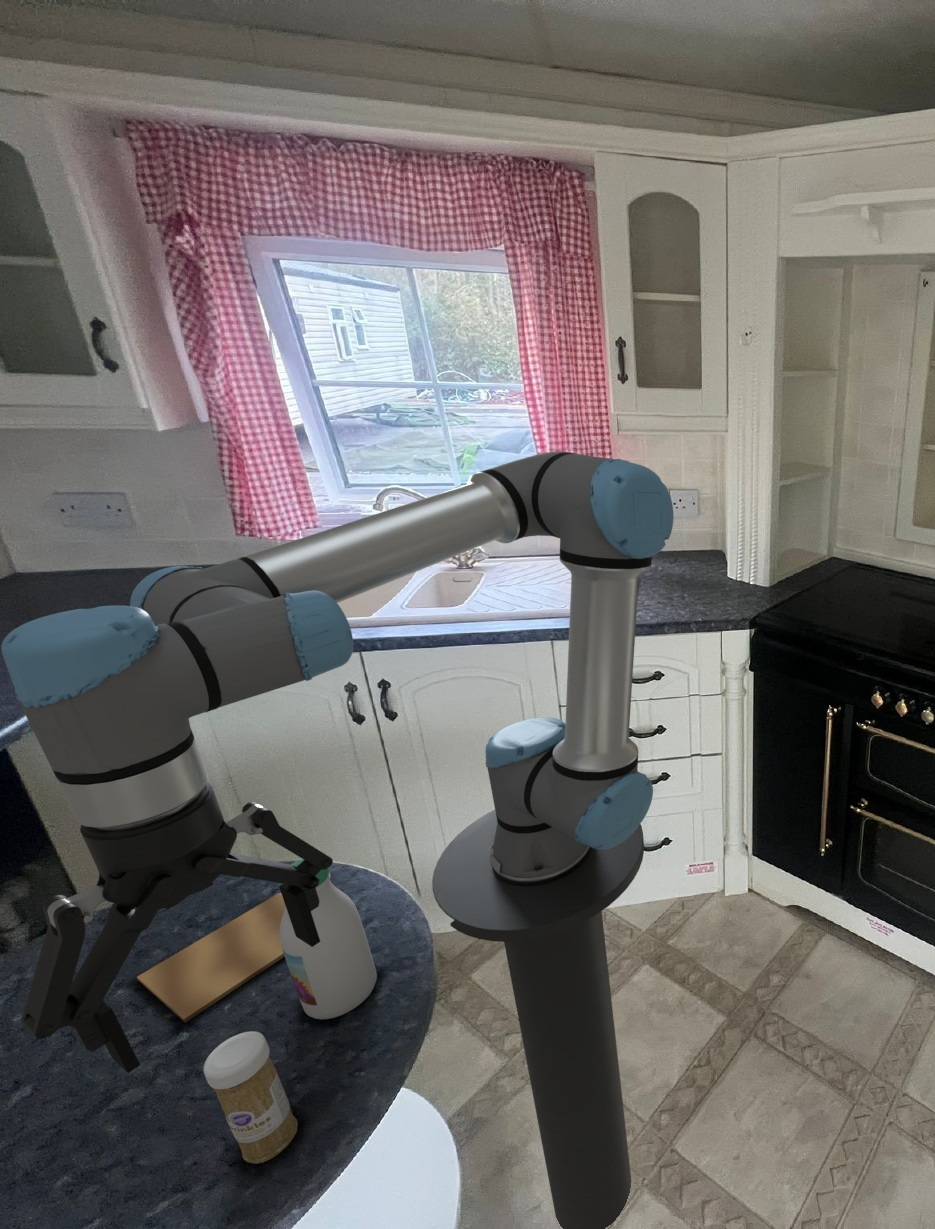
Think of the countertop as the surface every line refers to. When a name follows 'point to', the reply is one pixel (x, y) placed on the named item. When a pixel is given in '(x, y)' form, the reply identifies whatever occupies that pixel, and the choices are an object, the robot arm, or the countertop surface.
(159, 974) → the cork mat
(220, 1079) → the sprinkles bottle
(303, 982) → the milk bottle
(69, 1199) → the countertop surface
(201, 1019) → the countertop surface
